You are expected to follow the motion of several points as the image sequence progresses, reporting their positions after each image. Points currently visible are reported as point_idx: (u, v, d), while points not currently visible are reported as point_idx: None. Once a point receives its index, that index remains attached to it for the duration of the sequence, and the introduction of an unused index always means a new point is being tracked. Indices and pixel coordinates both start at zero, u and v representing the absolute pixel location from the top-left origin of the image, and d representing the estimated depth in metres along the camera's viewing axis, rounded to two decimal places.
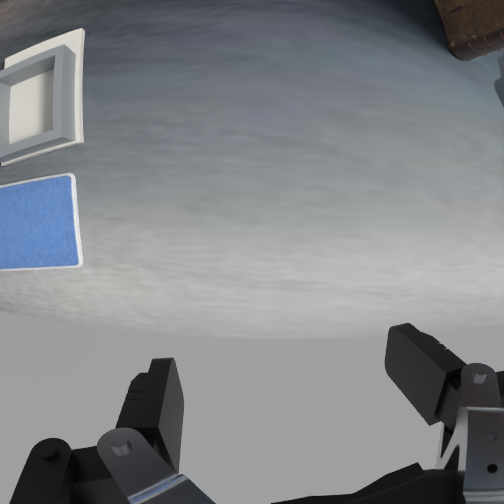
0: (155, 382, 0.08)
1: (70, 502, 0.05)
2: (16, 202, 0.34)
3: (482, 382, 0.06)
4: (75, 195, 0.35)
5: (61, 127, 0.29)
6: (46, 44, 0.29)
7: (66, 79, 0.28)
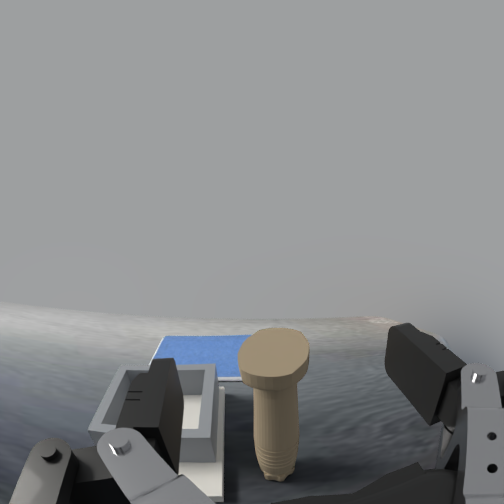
0: (155, 382, 0.08)
1: (70, 502, 0.05)
2: None
3: (482, 382, 0.06)
4: None
5: (118, 370, 0.35)
6: None
7: None
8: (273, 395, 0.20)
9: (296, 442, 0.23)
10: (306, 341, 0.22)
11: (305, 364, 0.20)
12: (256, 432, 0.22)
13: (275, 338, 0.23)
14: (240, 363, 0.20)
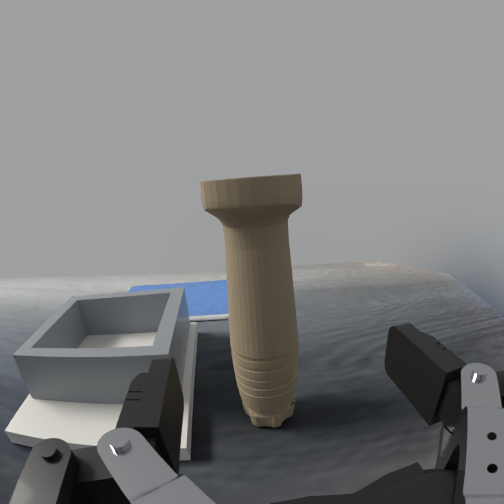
0: (155, 382, 0.08)
1: (70, 502, 0.05)
2: None
3: (482, 382, 0.06)
4: None
5: (68, 301, 0.28)
6: (70, 435, 0.15)
7: None
8: (254, 241, 0.14)
9: (295, 348, 0.17)
10: None
11: (298, 181, 0.14)
12: (233, 329, 0.16)
13: None
14: None
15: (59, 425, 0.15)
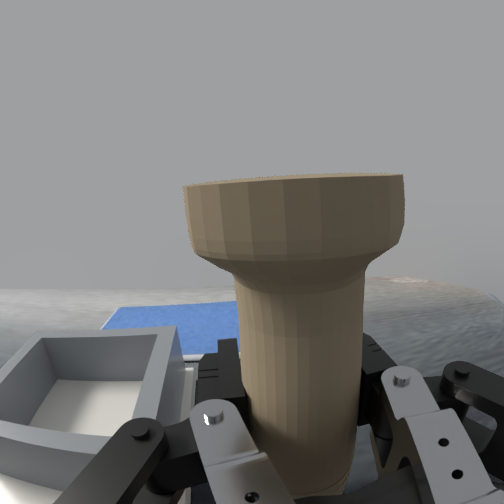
0: (228, 359, 0.10)
1: (146, 482, 0.06)
2: None
3: (403, 387, 0.07)
4: None
5: (31, 338, 0.20)
6: None
7: None
8: (306, 322, 0.06)
9: (350, 463, 0.09)
10: (373, 173, 0.08)
11: (403, 190, 0.06)
12: None
13: None
14: None
15: None
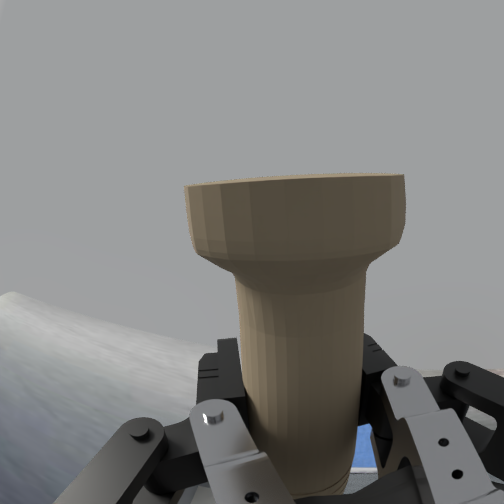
0: (228, 359, 0.10)
1: (146, 481, 0.06)
2: None
3: (403, 387, 0.07)
4: None
5: None
6: None
7: None
8: (307, 321, 0.06)
9: (351, 463, 0.09)
10: (373, 173, 0.08)
11: (404, 190, 0.06)
12: None
13: None
14: None
15: None
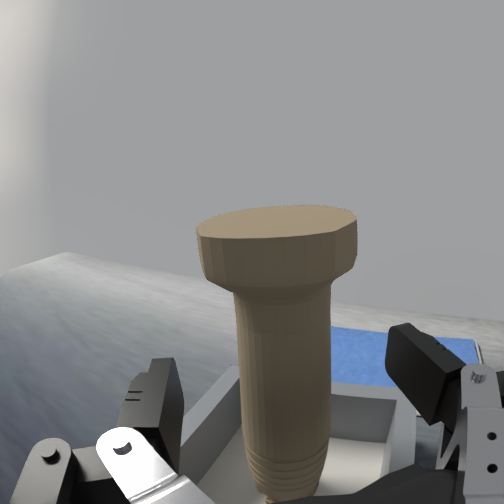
0: (155, 382, 0.08)
1: (70, 502, 0.05)
2: (390, 386, 0.23)
3: (482, 382, 0.06)
4: None
5: (223, 375, 0.20)
6: None
7: None
8: (283, 324, 0.09)
9: (327, 439, 0.11)
10: (342, 209, 0.11)
11: (355, 231, 0.09)
12: (247, 423, 0.11)
13: (277, 211, 0.12)
14: (200, 231, 0.08)
15: None
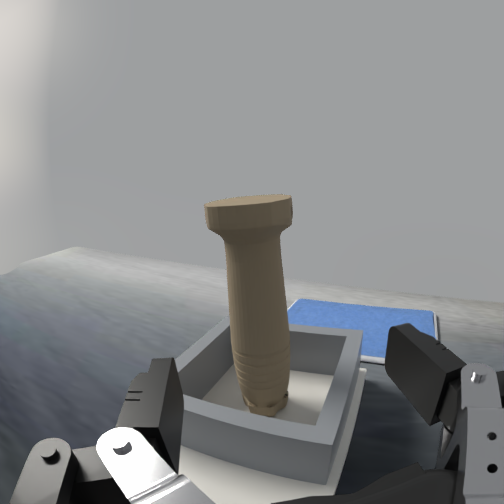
0: (155, 382, 0.08)
1: (70, 502, 0.05)
2: None
3: (482, 382, 0.06)
4: None
5: (220, 322, 0.28)
6: None
7: None
8: (250, 256, 0.17)
9: (287, 346, 0.19)
10: (287, 195, 0.19)
11: (287, 205, 0.17)
12: (233, 329, 0.19)
13: (251, 197, 0.20)
14: (206, 205, 0.17)
15: None
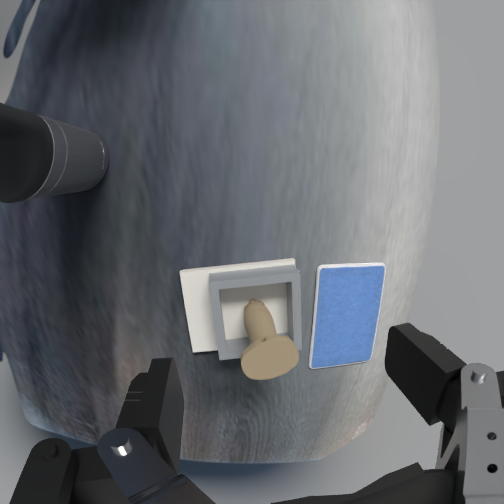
0: (155, 382, 0.08)
1: (70, 502, 0.05)
2: (329, 323, 0.51)
3: (482, 382, 0.06)
4: (335, 264, 0.49)
5: (291, 273, 0.43)
6: (189, 307, 0.47)
7: (243, 275, 0.44)
8: None
9: None
10: (286, 371, 0.34)
11: None
12: (248, 323, 0.40)
13: (283, 354, 0.33)
14: (247, 353, 0.33)
15: (194, 300, 0.46)
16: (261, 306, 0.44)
